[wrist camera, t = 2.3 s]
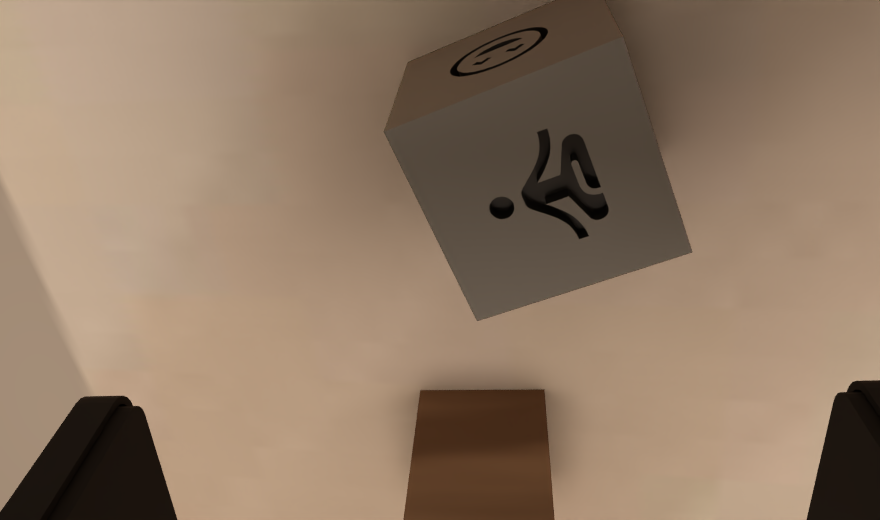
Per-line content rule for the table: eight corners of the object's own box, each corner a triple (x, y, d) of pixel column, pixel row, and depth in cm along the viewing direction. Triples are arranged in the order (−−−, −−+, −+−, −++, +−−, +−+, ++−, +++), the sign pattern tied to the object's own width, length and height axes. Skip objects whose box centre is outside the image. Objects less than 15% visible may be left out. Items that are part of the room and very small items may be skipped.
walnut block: (420, 390, 26) (400, 538, 21) (544, 389, 25) (556, 540, 20) (428, 479, 28) (413, 635, 23) (543, 479, 27) (554, 637, 22)
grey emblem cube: (653, 160, 21) (692, 252, 17) (481, 221, 23) (477, 321, 18) (595, -18, 19) (623, 36, 15) (408, 61, 20) (383, 131, 16)
